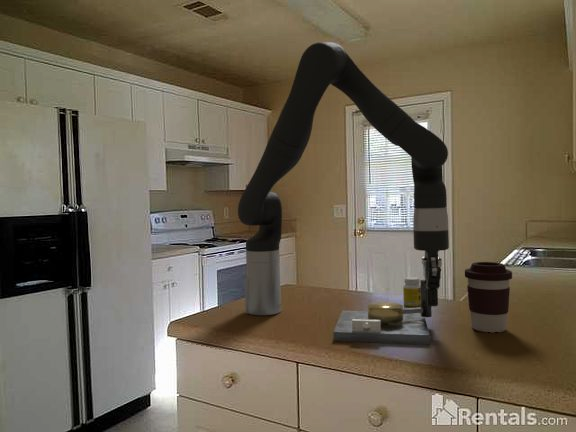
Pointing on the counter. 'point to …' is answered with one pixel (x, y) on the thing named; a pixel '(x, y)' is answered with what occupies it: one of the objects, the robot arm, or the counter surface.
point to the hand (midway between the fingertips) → (432, 305)
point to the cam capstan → (398, 309)
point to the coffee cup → (488, 295)
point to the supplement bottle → (412, 292)
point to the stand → (381, 329)
